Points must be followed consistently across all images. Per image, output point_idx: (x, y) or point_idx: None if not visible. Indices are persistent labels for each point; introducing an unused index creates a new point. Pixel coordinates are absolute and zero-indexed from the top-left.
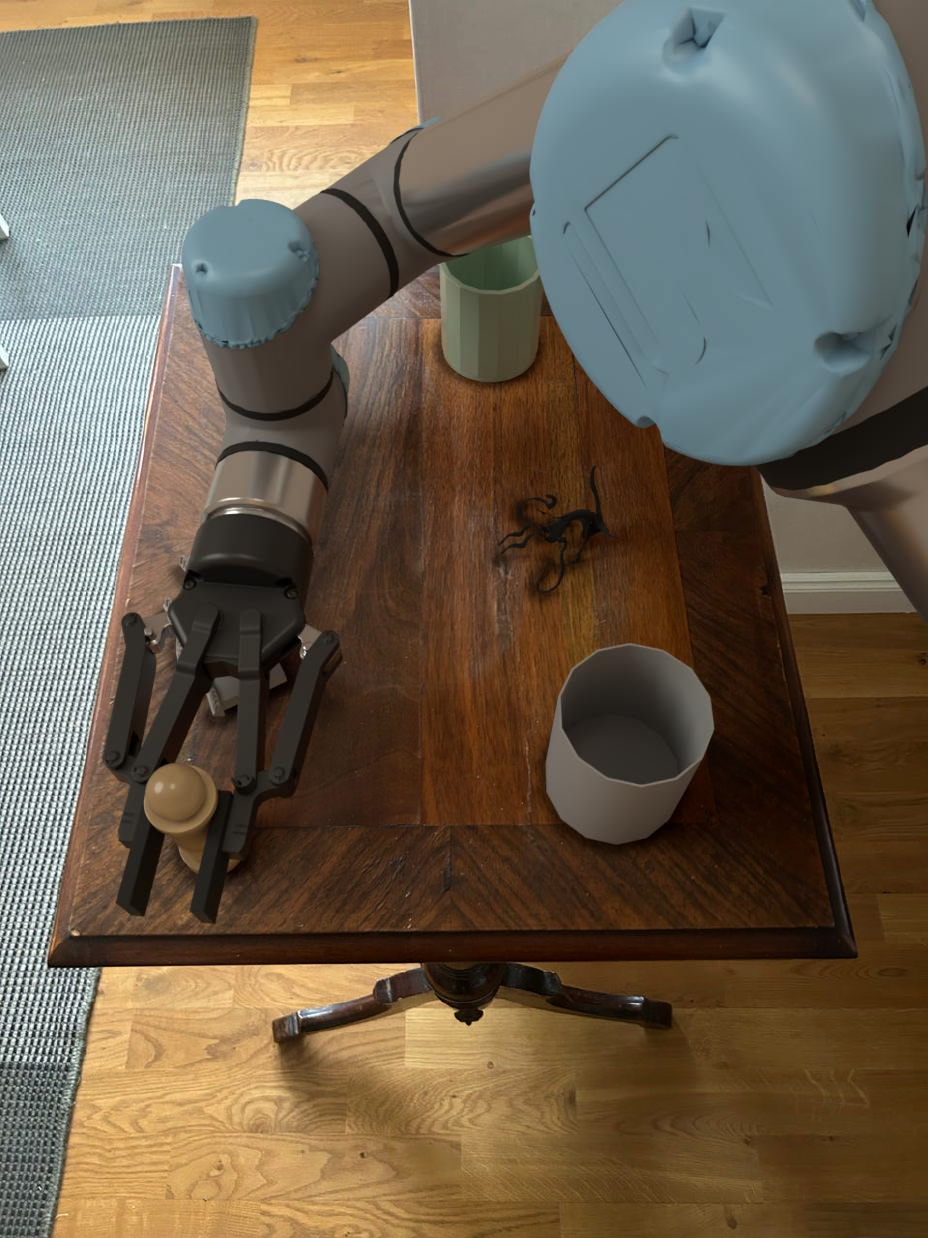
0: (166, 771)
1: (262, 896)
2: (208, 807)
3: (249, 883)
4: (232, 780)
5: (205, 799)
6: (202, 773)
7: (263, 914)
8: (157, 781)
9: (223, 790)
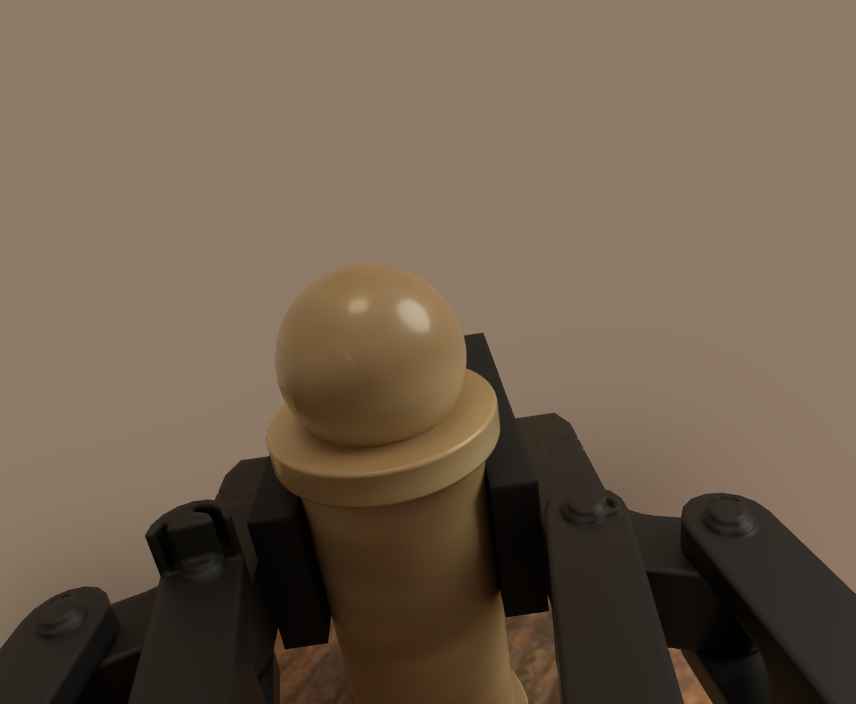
0: (373, 285)
1: (307, 678)
2: (286, 412)
3: (341, 696)
4: (223, 509)
5: (297, 420)
6: (317, 462)
7: (302, 647)
8: (394, 268)
9: (272, 516)
